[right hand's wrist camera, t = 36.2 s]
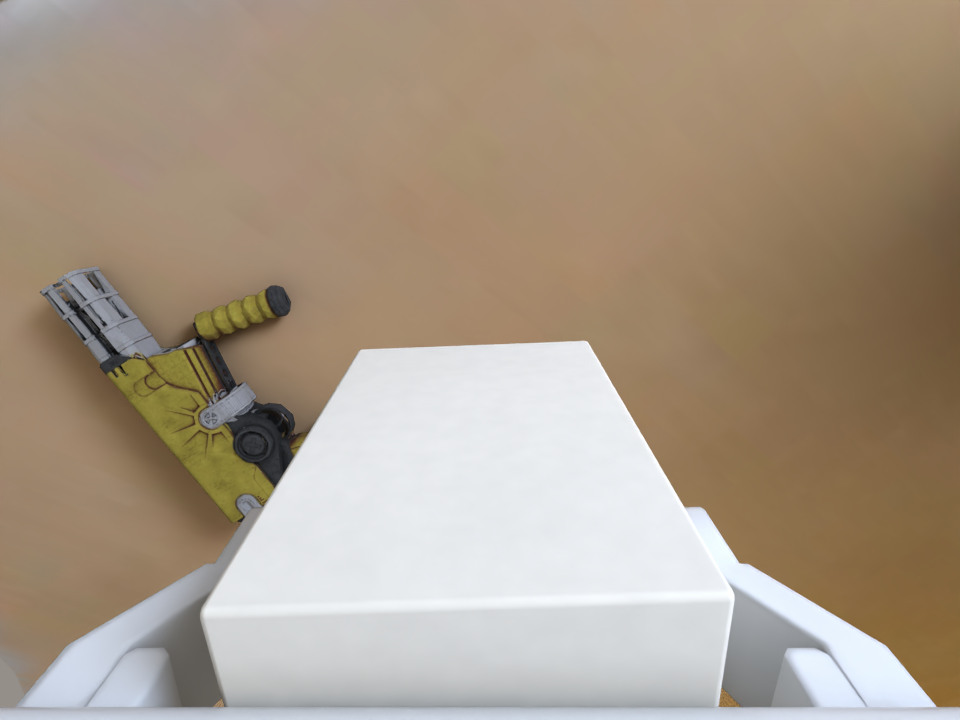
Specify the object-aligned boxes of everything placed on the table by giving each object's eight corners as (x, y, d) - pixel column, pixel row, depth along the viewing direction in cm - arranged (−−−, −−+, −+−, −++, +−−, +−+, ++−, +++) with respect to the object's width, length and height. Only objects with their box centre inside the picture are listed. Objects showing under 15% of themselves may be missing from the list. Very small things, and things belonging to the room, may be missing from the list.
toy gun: (194, 185, 39) (28, 296, 40) (385, 450, 45) (236, 539, 46) (220, 188, 44) (70, 287, 45) (391, 428, 50) (255, 510, 51)
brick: (588, 339, 13) (739, 595, 5) (582, 530, 15) (689, 917, 7) (358, 348, 13) (192, 612, 5) (381, 537, 15) (281, 928, 7)
